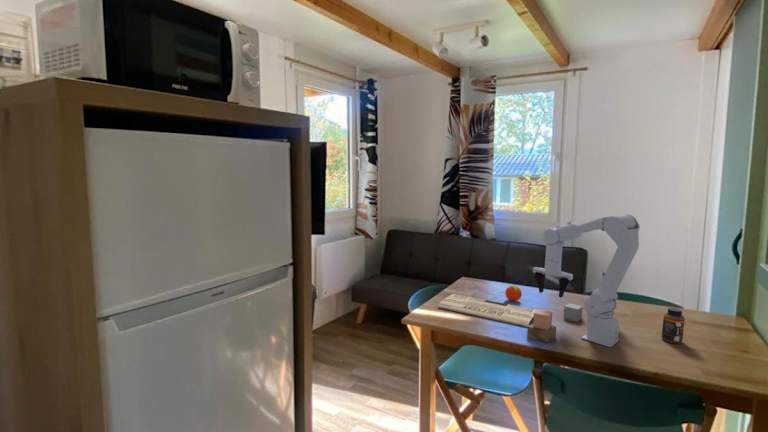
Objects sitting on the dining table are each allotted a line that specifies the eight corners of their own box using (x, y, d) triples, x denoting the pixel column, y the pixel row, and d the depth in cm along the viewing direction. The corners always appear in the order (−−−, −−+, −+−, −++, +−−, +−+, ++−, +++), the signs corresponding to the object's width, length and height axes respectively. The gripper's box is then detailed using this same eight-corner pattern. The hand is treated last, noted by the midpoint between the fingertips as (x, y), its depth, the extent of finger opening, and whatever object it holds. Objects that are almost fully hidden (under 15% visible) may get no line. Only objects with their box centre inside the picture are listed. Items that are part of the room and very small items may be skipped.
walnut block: (555, 337, 145) (556, 326, 145) (546, 343, 140) (547, 332, 140) (536, 331, 150) (537, 321, 150) (527, 337, 145) (527, 326, 145)
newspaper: (539, 314, 169) (539, 308, 168) (527, 330, 153) (527, 323, 152) (454, 298, 189) (454, 292, 188) (435, 310, 172) (436, 304, 172)
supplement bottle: (682, 345, 140) (686, 313, 139) (661, 341, 143) (664, 310, 142) (681, 339, 145) (684, 308, 144) (661, 335, 148) (664, 305, 147)
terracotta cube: (551, 325, 146) (552, 311, 145) (548, 330, 142) (549, 316, 141) (536, 322, 149) (537, 308, 148) (533, 326, 144) (533, 313, 144)
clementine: (524, 304, 179) (525, 288, 178) (508, 304, 179) (508, 288, 178) (518, 298, 187) (519, 283, 186) (503, 298, 187) (503, 282, 186)
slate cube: (581, 318, 164) (582, 306, 163) (576, 321, 161) (577, 309, 160) (568, 315, 168) (569, 303, 167) (563, 318, 164) (564, 306, 163)
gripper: (577, 261, 156) (574, 296, 157) (539, 254, 166) (537, 288, 168) (569, 264, 151) (566, 300, 152) (531, 257, 161) (529, 291, 163)
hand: (550, 294), depth 160 cm, fingers open, 7 cm apart
